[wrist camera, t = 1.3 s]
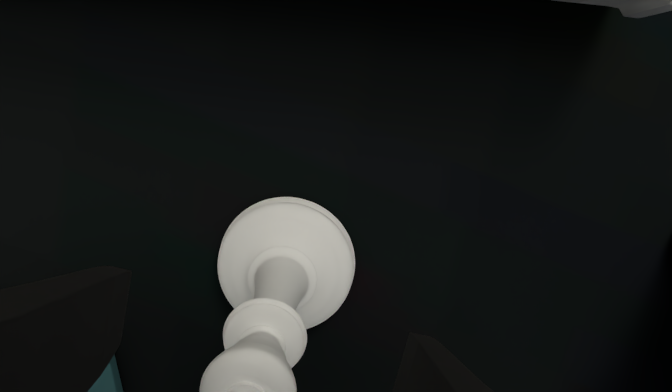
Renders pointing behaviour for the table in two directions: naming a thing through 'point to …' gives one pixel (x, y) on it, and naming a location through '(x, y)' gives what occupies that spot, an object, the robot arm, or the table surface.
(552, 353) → the table surface
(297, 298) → the chess piece
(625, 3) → the tube
